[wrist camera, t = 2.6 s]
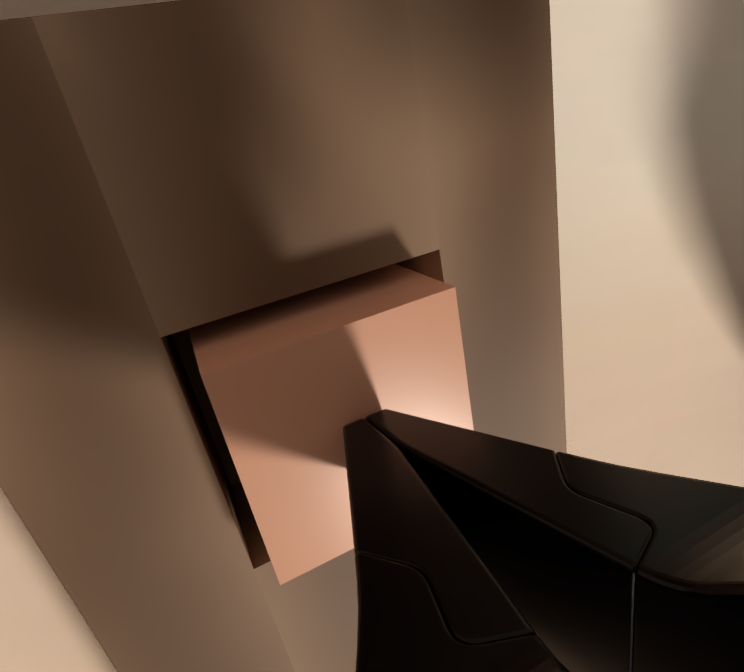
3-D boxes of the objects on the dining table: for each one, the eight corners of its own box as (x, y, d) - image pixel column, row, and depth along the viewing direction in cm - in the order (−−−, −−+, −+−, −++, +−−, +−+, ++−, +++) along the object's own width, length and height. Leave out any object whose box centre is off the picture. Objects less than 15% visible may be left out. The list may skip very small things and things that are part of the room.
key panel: (441, 14, 12) (547, -41, 8) (518, 688, 22) (579, 771, 19) (-119, 94, 8) (-276, 51, 5) (285, 846, 18) (312, 979, 15)
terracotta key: (382, 258, 11) (455, 286, 8) (412, 420, 13) (480, 484, 10) (185, 319, 10) (201, 375, 7) (249, 490, 11) (280, 585, 9)
